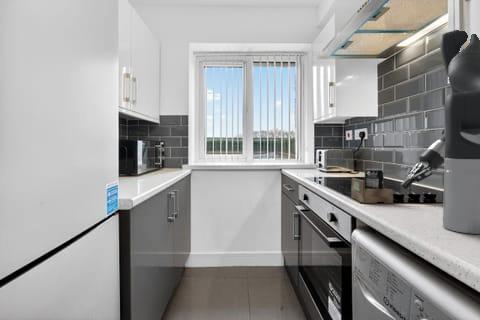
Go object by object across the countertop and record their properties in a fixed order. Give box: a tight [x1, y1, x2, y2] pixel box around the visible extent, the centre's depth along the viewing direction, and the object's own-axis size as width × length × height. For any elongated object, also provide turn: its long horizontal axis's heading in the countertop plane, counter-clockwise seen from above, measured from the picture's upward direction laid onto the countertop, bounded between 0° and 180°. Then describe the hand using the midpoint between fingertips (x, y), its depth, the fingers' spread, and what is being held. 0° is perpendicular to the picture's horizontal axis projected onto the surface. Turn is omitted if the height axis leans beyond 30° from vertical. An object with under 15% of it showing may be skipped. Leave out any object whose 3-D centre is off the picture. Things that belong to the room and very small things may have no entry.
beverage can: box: [364, 168, 385, 189], centre depth 116 cm, size 7×7×12 cm
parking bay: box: [350, 177, 394, 204], centre depth 116 cm, size 11×12×8 cm
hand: (402, 187), depth 116 cm, fingers closed
